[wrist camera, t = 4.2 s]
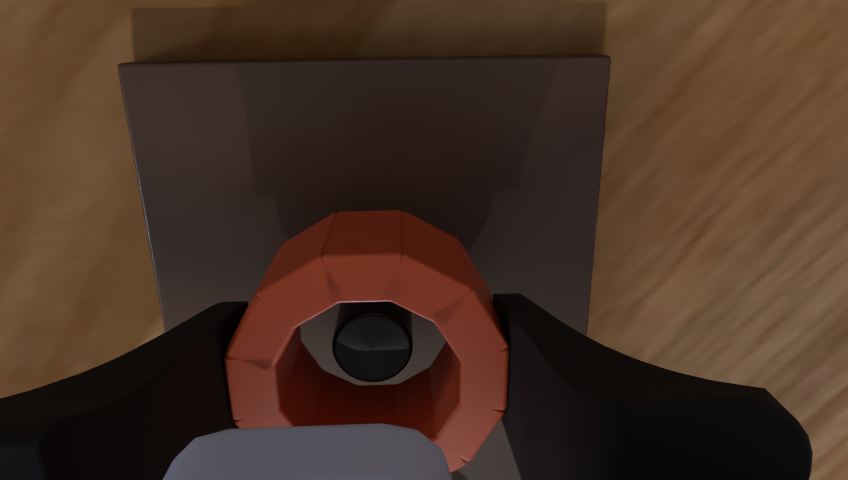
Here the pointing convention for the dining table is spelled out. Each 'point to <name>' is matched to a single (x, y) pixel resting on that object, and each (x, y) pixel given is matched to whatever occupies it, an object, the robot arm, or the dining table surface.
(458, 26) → the dining table surface
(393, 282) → the red ring
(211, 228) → the ring board
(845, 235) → the dining table surface
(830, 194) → the dining table surface
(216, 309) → the robot arm
